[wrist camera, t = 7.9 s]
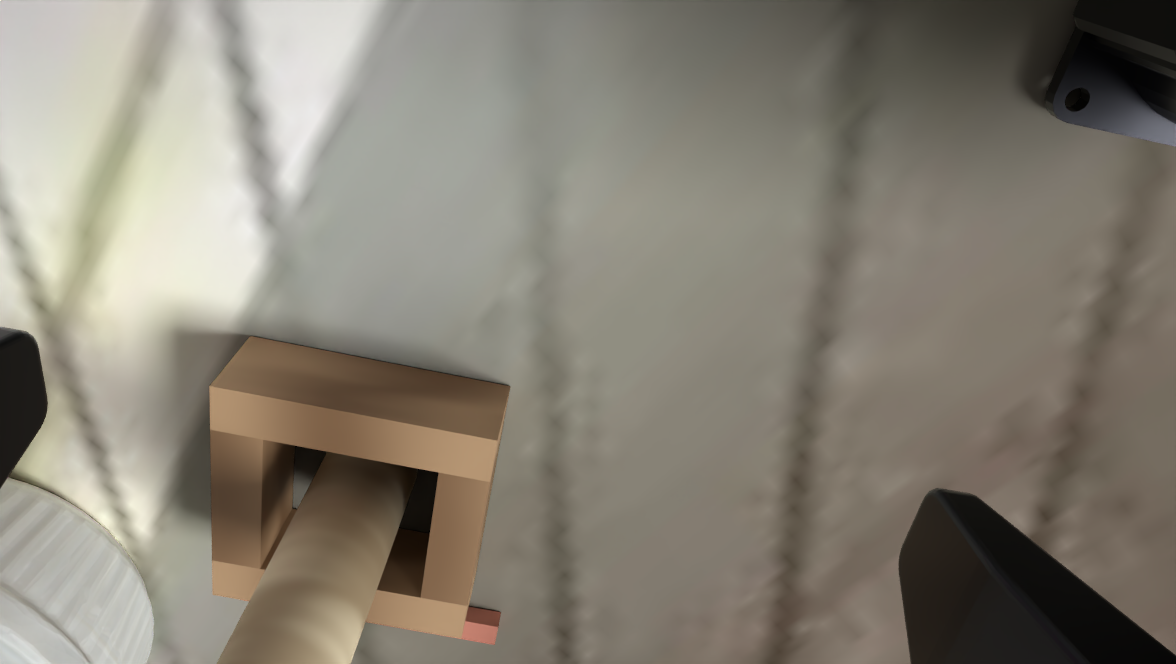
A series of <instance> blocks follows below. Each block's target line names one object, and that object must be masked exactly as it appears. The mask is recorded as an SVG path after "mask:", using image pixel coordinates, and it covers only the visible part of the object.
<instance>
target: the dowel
mask: <svg viewBox="0 0 1176 664" xmlns="http://www.w3.org/2000/svg"><path fill="white" fill-rule="evenodd" d="M416 477H417V468H412V467H407V466H401V465H396V464H391V463H385V462H380V461H375V460H369V459H364V458H359V457H353V456H348V455H343V454H337V453H332V452H327V453H326V455H325V457H324V459H323V461H322V463H321V465H320V467H319V469H318V471H317V473H316V474H315V476H314V478H313V480H312V482H311V484H310V486H309V488H308V490H307V492H306V494H305V495H304V497H303V499H302V501H301V503H300V505H299V507H298V509H297V511H296V513H295V515H294V517H293V518H292V520H291V522H290V524H289V526H288V528H287V530H286V532H285V534H284V536H283V538H282V540H281V541H280V543H279V545H278V547H277V549H276V551H275V553H274V555H273V557H272V559H271V561H270V562H269V564H268V566H267V568H266V570H265V572H264V574H263V576H262V578H261V580H260V582H259V584H258V585H257V587H256V589H255V591H254V593H253V595H252V597H251V599H250V601H249V603H248V605H247V606H246V608H245V610H244V612H243V614H242V616H241V618H240V620H239V622H238V624H237V626H236V628H235V629H234V631H233V633H232V635H231V637H230V639H229V641H228V643H227V645H226V647H225V649H224V651H223V652H222V654H221V656H220V658H219V660H218V662H217V664H351V661H352V658H353V655H354V653H355V650H356V647H357V644H358V641H359V638H360V636H361V633H362V630H363V627H364V624H365V621H366V619H367V616H368V613H369V610H370V607H371V604H372V602H373V599H374V596H375V593H376V590H377V588H378V585H379V582H380V579H381V576H382V573H383V571H384V568H385V565H386V562H387V559H388V556H389V554H390V551H391V548H392V545H393V542H394V540H395V537H396V534H397V531H398V528H399V525H400V523H401V520H402V517H403V514H404V511H405V508H406V506H407V503H408V500H409V497H410V494H411V492H412V489H413V486H414V483H415V480H416Z"/></svg>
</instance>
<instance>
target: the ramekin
mask: <svg viewBox="0 0 1176 664" xmlns="http://www.w3.org/2000/svg"><path fill="white" fill-rule="evenodd" d="M153 626H154V618H153V614H152V606H151V603H150V600H149V598H148V594H147V590H146V587H145V584H144V582H143V579H142V577H141V575H140V573H139V571H138V569H137V567H136V566H135V564H134V562H133V561H132V559H131V558H130V556H129V555H128V553H127V552H126V551H125V549H124V548H123V547H122V546H121V545H120V543H119V542H118V541H117V540H116V539H115V538H114V537H113V536H112V535H111V534H110V533H109V532H108V531H107V530H106V529H105V528H104V527H103V526H101V525H100V524H99V523H98V522H97V521H95V520H94V519H93V518H91V517H90V516H89V515H87V514H86V513H85V512H83V511H82V510H80V509H79V508H77V507H76V506H74V505H73V504H71V503H69V502H68V501H66V500H64V499H62V498H60V497H59V496H57V495H55V494H52V493H50V492H48V491H46V490H43V489H41V488H39V487H36V486H34V485H31V484H28V483H25V482H22V481H18V480H15V479H12V478H9V477H8V478H7V480H6V481H5V483H4V484H3V486H2V487H1V489H0V664H146V662H147V659H148V657H149V654H150V651H151V645H152V641H153V636H154V632H153Z"/></svg>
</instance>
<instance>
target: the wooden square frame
mask: <svg viewBox="0 0 1176 664" xmlns="http://www.w3.org/2000/svg"><path fill="white" fill-rule="evenodd" d="M209 391H210V455H211V518H212V582H213V595H218V596H223V597H229V598H234V599H240V600H244V601H250V599H251V597H252V595H253V593H254V591H255V589H256V587H257V585H258V584H259V582H260V580H261V578H262V576H263V574H264V572H265V570H266V568H267V566H268V564H269V562H270V561H271V559H272V557H273V555H274V553H275V551H276V549H277V547H278V545H279V543H280V541H281V540H282V538H283V536H284V534H285V532H286V530H287V528H288V526H289V524H290V522H291V520H292V518H293V517H294V515H295V513H296V511H297V509H292V503H293V480H294V456H295V446H300V447H305V448H311V449H316V450H321V451H327V452H332V453H337V454H343V455H348V456H353V457H359V458H364V459H369V460H375V461H380V462H385V463H391V464H396V465H401V466H407V467H412V468H417V469H423V470H428V471H433V472H439V474H438V481H437V488H436V494H435V501H434V508H433V515H432V522H431V529H430V534H428V533H422V532H417V531H411V530H406V529H400V528H398V531H397V534H396V537H395V540H394V542H393V545H392V548H391V551H390V554H389V556H388V559H387V562H386V565H385V568H384V571H383V573H382V576H381V579H380V582H379V585H378V588H377V590H376V593H375V596H374V599H373V602H372V604H371V607H370V610H369V613H368V616H367V619H366V621H365V622H368V623H374V624H380V625H385V626H391V627H397V628H402V629H408V630H414V631H419V632H425V633H431V634H436V635H442V636H448V637H453V638H459V639H464V640H470V641H476V642H481V643H487V644H493V645H495V640H496V635H497V631H498V626H499V620H500V614H501V612H496V611H490V610H485V609H479V608H473V607H468V606H469V602H470V597H471V593H472V588H473V584H474V579H475V575H476V570H477V564H478V559H479V553H480V548H481V543H482V537H483V532H484V526H485V521H486V516H487V510H488V505H489V499H490V494H491V488H492V483H493V478H494V472H495V467H496V461H497V456H498V451H499V445H500V440H501V434H502V429H503V423H504V418H505V413H506V407H507V402H508V396H509V391H510V386H506V385H501V384H496V383H490V382H485V381H480V380H475V379H470V378H465V377H459V376H454V375H449V374H444V373H439V372H434V371H428V370H423V369H418V368H413V367H408V366H403V365H397V364H392V363H387V362H382V361H377V360H372V359H366V358H361V357H356V356H351V355H346V354H341V353H336V352H330V351H325V350H320V349H315V348H310V347H305V346H299V345H294V344H289V343H284V342H279V341H274V340H268V339H263V338H258V337H253V336H250V337H249V338H248V339H247V341H246V342H245V343H244V344H243V346H242V347H241V348H240V349H239V350H238V352H237V353H236V354H235V355H234V357H233V358H232V359H231V360H230V361H229V363H228V364H227V365H226V366H225V368H224V369H223V370H222V371H221V372H220V374H219V375H218V376H217V377H216V379H215V380H214V381H213V382H212V383H211V385H210V386H209Z"/></svg>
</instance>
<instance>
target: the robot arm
mask: <svg viewBox="0 0 1176 664" xmlns="http://www.w3.org/2000/svg"><path fill="white" fill-rule="evenodd" d="M1073 16H1074V19H1075V23H1076V28H1075V30H1074V32H1073V34H1072V37H1071V39H1070V41H1069V43H1068V46H1067V48H1066V50H1065V52H1064V54H1063V57H1062V59H1061V61H1060V63H1059V65H1058V68H1057V70H1056V72H1055V74H1054V76H1053V79H1052V81H1051V83H1050V85H1049V87H1048V90H1047V93H1046V97H1045V104H1046V108H1047V110H1048V111H1049V112H1050V114H1051V115H1053V116H1055V117H1056V118H1058V119H1060V120H1062V121H1064V122H1066V123H1071V124H1075V125H1080V126H1084V127H1089V128H1093V129H1098V130H1103V131H1107V132H1112V133H1116V134H1121V135H1126V136H1130V137H1135V138H1139V139H1144V140H1149V141H1153V142H1158V143H1162V144H1167V145H1171V146H1176V0H1079V2H1078V4H1077V6H1076V8H1075V11H1074V14H1073ZM1076 88H1080V89H1081V91H1082V92H1081V97H1080V99H1079V100H1078V102H1077V103H1076V104H1074V105H1072V106H1071V107H1066V106H1065V99H1066V96H1067V95H1068V94H1069V92H1070V91H1072V90H1074V89H1076ZM47 405H48V402H47V394H46V388H45V382H44V377H43V371H42V365H41V359H40V354H39V348H38V344H37V342H36V340H35V339H34V337H33V336H32V335H31V334H29V333H28V332H26V331H22V330H16V329H10V328H5V327H0V489H1V487H2V486H3V484H4V483H5V481H6V480H7V478H8V477H9V475H10V474H11V472H12V470H13V469H14V467H15V466H16V464H17V463H18V461H19V460H20V458H21V457H22V455H23V454H24V452H25V451H26V449H27V448H28V446H29V445H30V443H31V442H32V440H33V439H34V437H35V436H36V434H37V432H38V431H39V429H40V428H41V426H42V424H43V422H44V419H45V417H46V413H47ZM899 577H900V585H901V592H902V600H903V608H904V615H905V623H906V630H907V638H908V645H909V653H910V660H911V664H1176V655H1175V654H1173V653H1172V652H1171V651H1170V650H1168V649H1167V648H1166V647H1165V646H1163V645H1162V644H1161V643H1160V642H1158V641H1157V640H1156V639H1154V638H1153V637H1152V636H1151V635H1149V634H1148V633H1147V632H1146V631H1144V630H1143V629H1142V628H1141V627H1139V626H1138V625H1137V624H1136V623H1134V622H1133V621H1132V620H1131V619H1129V618H1128V617H1127V616H1126V615H1124V614H1123V613H1122V612H1121V611H1119V610H1118V609H1117V608H1116V607H1114V606H1113V605H1112V604H1111V603H1109V602H1108V601H1107V600H1106V599H1104V598H1103V597H1102V596H1101V595H1099V594H1098V593H1097V592H1096V591H1094V590H1093V589H1092V588H1091V587H1089V586H1088V585H1087V584H1086V583H1084V582H1083V581H1082V580H1081V579H1079V578H1078V577H1077V576H1076V575H1074V574H1073V573H1072V572H1071V571H1069V570H1068V569H1067V568H1066V567H1064V566H1063V565H1062V564H1061V563H1059V562H1058V561H1057V560H1056V559H1054V558H1053V557H1052V556H1051V555H1049V554H1048V553H1047V552H1046V551H1044V550H1043V549H1042V548H1041V547H1039V546H1038V545H1037V544H1036V543H1034V542H1033V541H1032V540H1031V539H1029V538H1028V537H1027V536H1026V535H1024V534H1023V533H1022V532H1021V531H1019V530H1018V529H1017V528H1016V527H1014V526H1013V525H1012V524H1011V523H1009V522H1008V521H1007V520H1006V519H1004V518H1003V517H1002V516H1001V515H999V514H998V513H997V512H996V511H994V510H993V509H992V508H991V507H989V506H988V505H987V504H986V503H984V502H983V501H982V500H981V499H979V498H978V497H977V496H975V495H973V494H970V493H965V492H959V491H953V490H947V489H941V488H936V489H933V490H931V491H929V492H928V494H927V495H926V496H925V498H924V499H923V501H922V503H921V506H920V508H919V510H918V512H917V514H916V517H915V519H914V521H913V523H912V525H911V528H910V530H909V532H908V534H907V536H906V539H905V541H904V543H903V545H902V548H901V552H900V556H899Z"/></svg>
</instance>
